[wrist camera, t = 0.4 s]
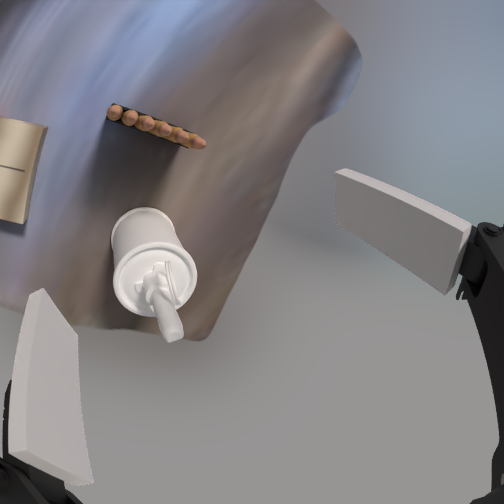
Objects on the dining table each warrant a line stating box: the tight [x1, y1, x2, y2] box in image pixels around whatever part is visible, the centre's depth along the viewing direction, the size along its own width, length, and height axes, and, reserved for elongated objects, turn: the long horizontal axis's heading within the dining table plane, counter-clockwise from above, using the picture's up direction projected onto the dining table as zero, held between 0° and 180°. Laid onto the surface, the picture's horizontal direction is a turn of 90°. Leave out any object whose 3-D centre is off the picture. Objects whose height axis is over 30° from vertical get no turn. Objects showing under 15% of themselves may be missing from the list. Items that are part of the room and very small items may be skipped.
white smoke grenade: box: [111, 207, 197, 342], centre depth 30 cm, size 10×9×20 cm
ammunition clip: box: [106, 103, 206, 149], centre depth 26 cm, size 11×2×12 cm, turn 63°
